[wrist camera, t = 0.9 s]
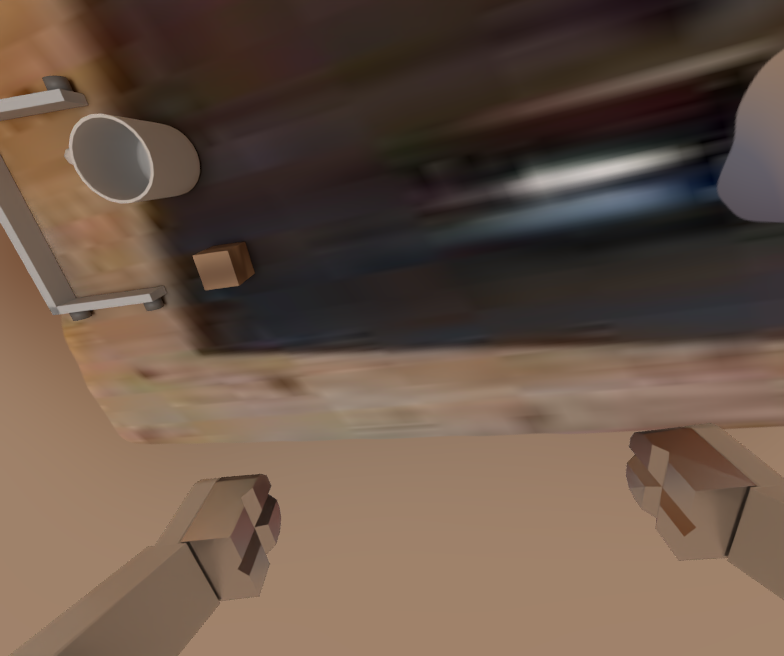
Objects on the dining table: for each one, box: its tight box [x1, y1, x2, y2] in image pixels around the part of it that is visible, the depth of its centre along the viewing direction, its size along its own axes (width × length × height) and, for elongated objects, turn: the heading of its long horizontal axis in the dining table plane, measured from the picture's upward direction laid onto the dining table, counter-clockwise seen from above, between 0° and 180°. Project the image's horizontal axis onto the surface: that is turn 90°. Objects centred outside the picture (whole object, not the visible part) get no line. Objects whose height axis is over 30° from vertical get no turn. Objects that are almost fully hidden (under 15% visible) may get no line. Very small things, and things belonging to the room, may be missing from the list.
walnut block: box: [193, 242, 255, 290], centre depth 43 cm, size 4×4×5 cm
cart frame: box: [0, 76, 167, 321], centre depth 41 cm, size 25×13×3 cm, turn 8°
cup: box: [64, 114, 200, 203], centre depth 36 cm, size 7×10×9 cm
